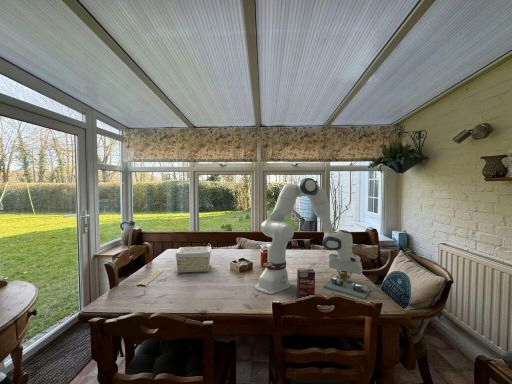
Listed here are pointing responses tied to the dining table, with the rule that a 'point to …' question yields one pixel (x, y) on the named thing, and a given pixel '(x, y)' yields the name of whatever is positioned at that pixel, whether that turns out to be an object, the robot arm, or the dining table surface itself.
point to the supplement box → (305, 282)
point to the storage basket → (193, 259)
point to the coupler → (344, 276)
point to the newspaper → (150, 278)
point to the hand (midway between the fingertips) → (344, 277)
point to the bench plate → (346, 289)
